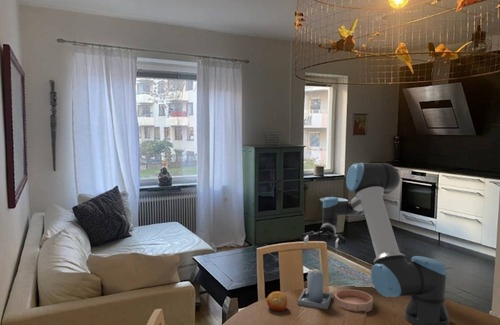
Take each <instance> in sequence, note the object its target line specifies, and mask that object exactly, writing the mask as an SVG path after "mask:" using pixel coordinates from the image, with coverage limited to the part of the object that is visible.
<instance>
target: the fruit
mask: <svg viewBox="0 0 500 325" xmlns="http://www.w3.org/2000/svg"><path fill="white" fill-rule="evenodd" d="M266 303H267V306H268V308H269V309H270V310H271V311H272V312H273V311H274V312H283V311H285V310H286V308H287V307H288V297H287V296H286V294H285V293H283V292H282V291H279V290H277V291H272V292H271V293H269V294H268V296H267V297H266Z"/></svg>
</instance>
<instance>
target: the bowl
mask: <svg viewBox="0 0 500 325" xmlns="http://www.w3.org/2000/svg"><path fill="white" fill-rule="evenodd" d="M333 297H334V298H333V303H334V304H335V305H336V306H337V307H339V308H341V309H344V310H346V311H352V312H353V311H354V312H364V313H369V312H370V311H372V310H373V308H374V307H373V306H374V305H373V303H374V296H372V295H371V294H370V293H368V292H365V291H362V290H359V289H353V288H352V289H350V288H348V289H345V288H344V289H339V290H336V291H335V292H334V295H333Z"/></svg>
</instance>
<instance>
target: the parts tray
mask: <svg viewBox="0 0 500 325" xmlns="http://www.w3.org/2000/svg"><path fill="white" fill-rule="evenodd" d="M332 298H333V294H332V293H330V292H329V293H328V292H323V301H322V302H321V303H316V302H310V301H307V289H303V291H302V292H301V294H300V296H299V297H298V299H297V306H303V307H309V308H316V309H323V310H329V307H330V304H331V301H332Z"/></svg>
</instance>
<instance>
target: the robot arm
mask: <svg viewBox="0 0 500 325" xmlns="http://www.w3.org/2000/svg"><path fill="white" fill-rule="evenodd" d="M345 180H346V181H345V183H346V188H347V189H348V190H349V192H353V193H354V194H355V196H354V197H353V198H351V199H350V200H339V198H338V197H334V196H327V197H324V198H323V201H322V225H321V227H320V228H319V230H318V231H316V232H315V231H314V230H311V231H309V232H304V233H301V234H300V240H301V241H302V242H303V245H304V246H306V245H307V244H308V242H309V241H313V240H317V241H319V240H322V241H323V242H324V243H325V242H326V243H327V242H334V243H335V246H334V248H335V249H338V247H339V246H341V245H347V244H346V243H347V238H346V237H345V236H343V235H341V233H337V232H338V231H339V224H338V222H339V221H338V217H343V216H344V217H346V216H351V217H352V216H363V215H364V216H365V220H366V225H367V229H368V232H369V235H370V238H371V242H372V246H373V250H374V252H375V258H374V260H373V265H372V267H371V269H370V273H371V274H370V277H371V282H372V284H373V287H374V288H375V290H376V291H377V292H378V293H379V294H380V295H381V296H383V297H386V298H397V297H406V296H410V298H409V299H408V302H407V304H406V307H405V309H404V318H405V319H406V320H407V321H408V322H409V323H410V324H412V325H450V316H449V312H448V310H447V307H446V304H445V301H446V299H445V298H446V281H447V280H446V278H447V277H446V276H447V274H446V273H447V272H446V265H445V264H444V263H443V261H440V260H437V259H435V258H432V257H426V256H423V255H422V256H420V255H414V256H412V257H411V258H410V259H411V261H410V262H409V261H407V260H408V259H407V257H406V255H405V254H404V253H401V251H400V249H399V246H398V243H397V240H396V236H395V233H394V230H393V227H392V226H393V225H392V224H391V220H390V218H389V214H388V211H387V207H386V204H385V201H384V197H383V196H384V195H388V194H390V193H391V194H392V192H394V191H395V190H396V189H397V188H398V187H399V185H400V182H401V176H400V172H399V171H398V169H397V168H396V167H395V166H393V165H392V164H390V163H386V162H375V163H373V162H371V163H369V162H368V163H365V162H360V163H359V162H356V163H353V164H352V165H350V167H348V170H347V174H346V177H345Z"/></svg>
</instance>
